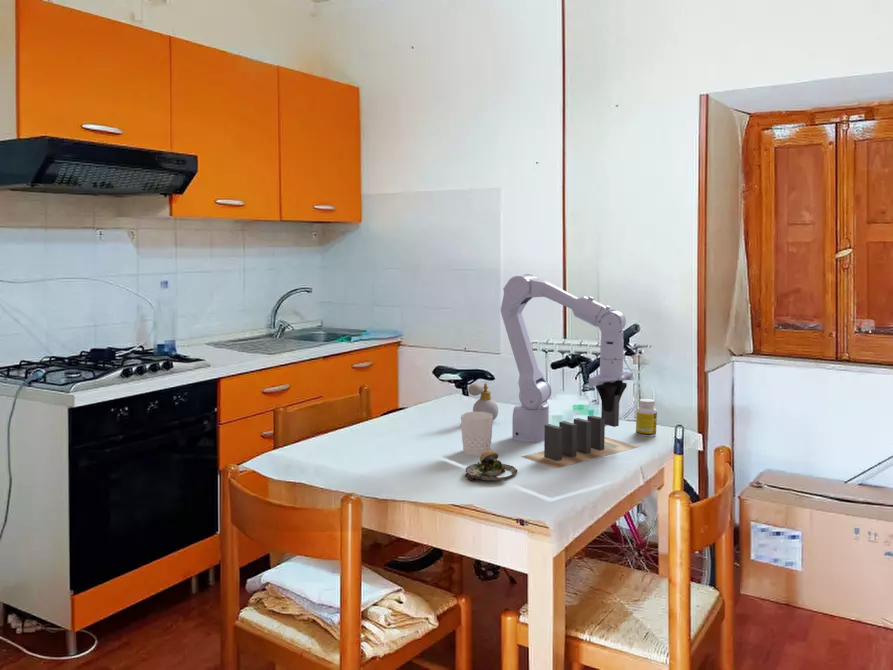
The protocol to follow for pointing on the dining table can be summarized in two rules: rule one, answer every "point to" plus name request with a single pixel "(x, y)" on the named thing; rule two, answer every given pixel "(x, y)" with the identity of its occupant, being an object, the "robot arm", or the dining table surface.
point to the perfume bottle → (483, 400)
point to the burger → (488, 467)
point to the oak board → (582, 454)
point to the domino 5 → (612, 413)
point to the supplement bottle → (646, 418)
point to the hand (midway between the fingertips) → (610, 410)
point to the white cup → (476, 432)
